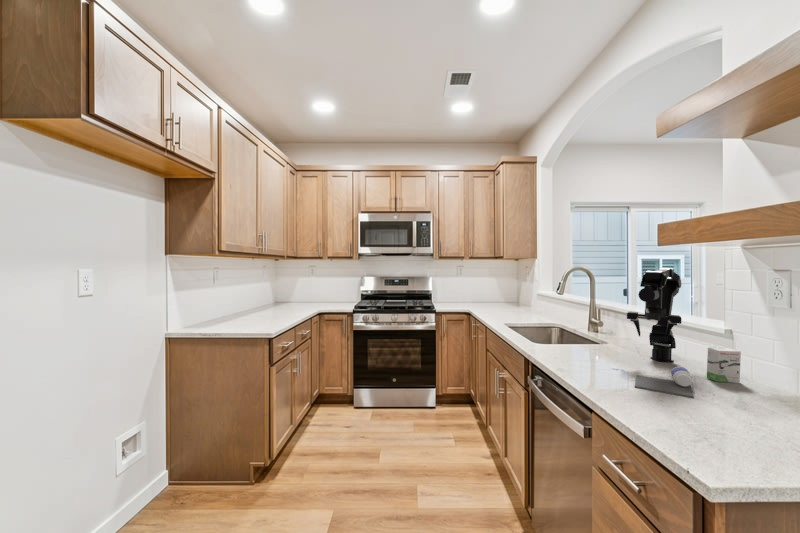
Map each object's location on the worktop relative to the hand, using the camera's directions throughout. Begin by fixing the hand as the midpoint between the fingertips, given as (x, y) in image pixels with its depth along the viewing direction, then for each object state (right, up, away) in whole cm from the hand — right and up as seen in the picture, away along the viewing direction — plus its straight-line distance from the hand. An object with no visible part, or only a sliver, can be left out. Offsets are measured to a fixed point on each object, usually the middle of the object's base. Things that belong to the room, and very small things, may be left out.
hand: (652, 337), depth 154 cm
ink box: (+14, -13, -17) cm, 26 cm away
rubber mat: (-14, -12, -26) cm, 32 cm away
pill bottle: (-4, -9, -21) cm, 23 cm away
